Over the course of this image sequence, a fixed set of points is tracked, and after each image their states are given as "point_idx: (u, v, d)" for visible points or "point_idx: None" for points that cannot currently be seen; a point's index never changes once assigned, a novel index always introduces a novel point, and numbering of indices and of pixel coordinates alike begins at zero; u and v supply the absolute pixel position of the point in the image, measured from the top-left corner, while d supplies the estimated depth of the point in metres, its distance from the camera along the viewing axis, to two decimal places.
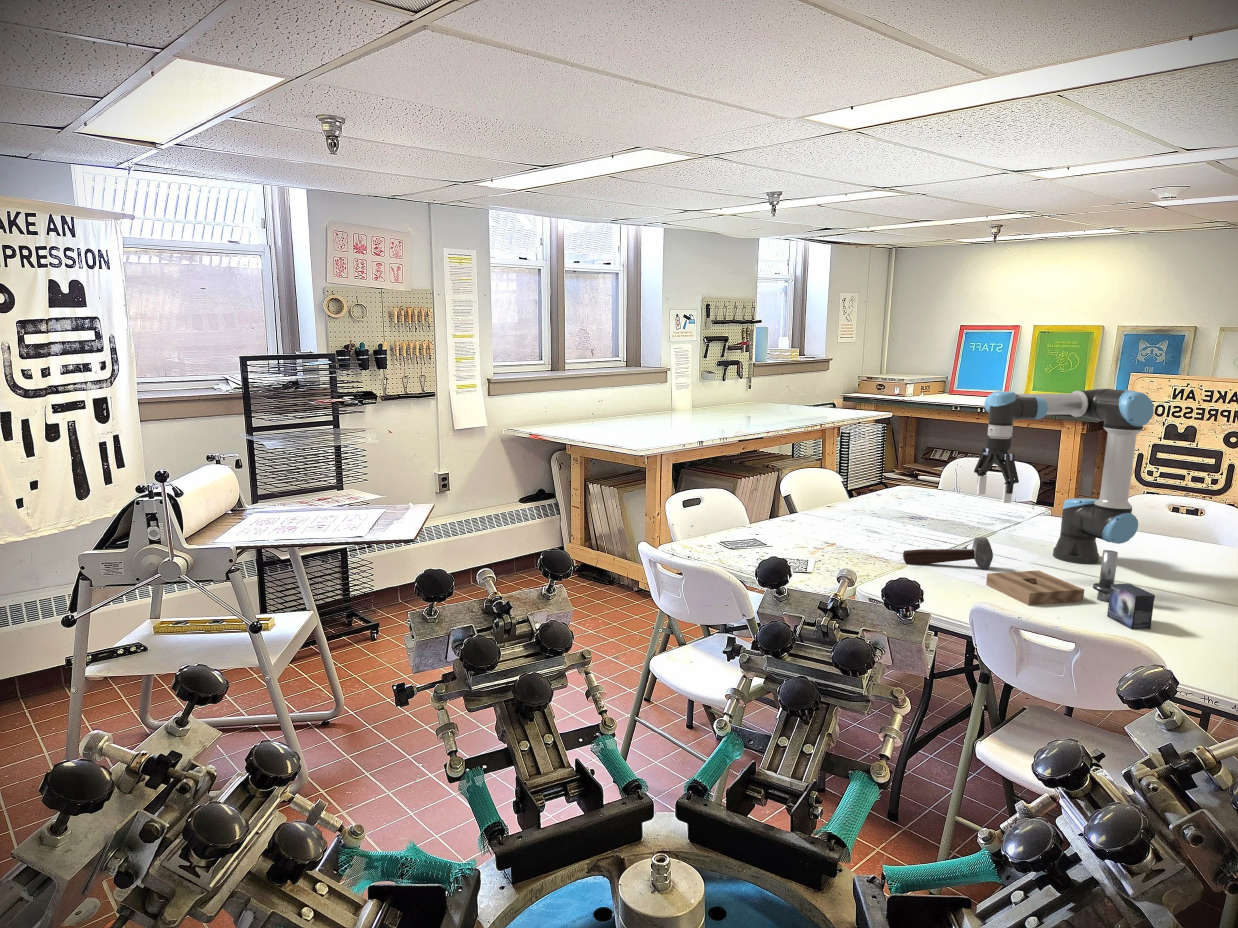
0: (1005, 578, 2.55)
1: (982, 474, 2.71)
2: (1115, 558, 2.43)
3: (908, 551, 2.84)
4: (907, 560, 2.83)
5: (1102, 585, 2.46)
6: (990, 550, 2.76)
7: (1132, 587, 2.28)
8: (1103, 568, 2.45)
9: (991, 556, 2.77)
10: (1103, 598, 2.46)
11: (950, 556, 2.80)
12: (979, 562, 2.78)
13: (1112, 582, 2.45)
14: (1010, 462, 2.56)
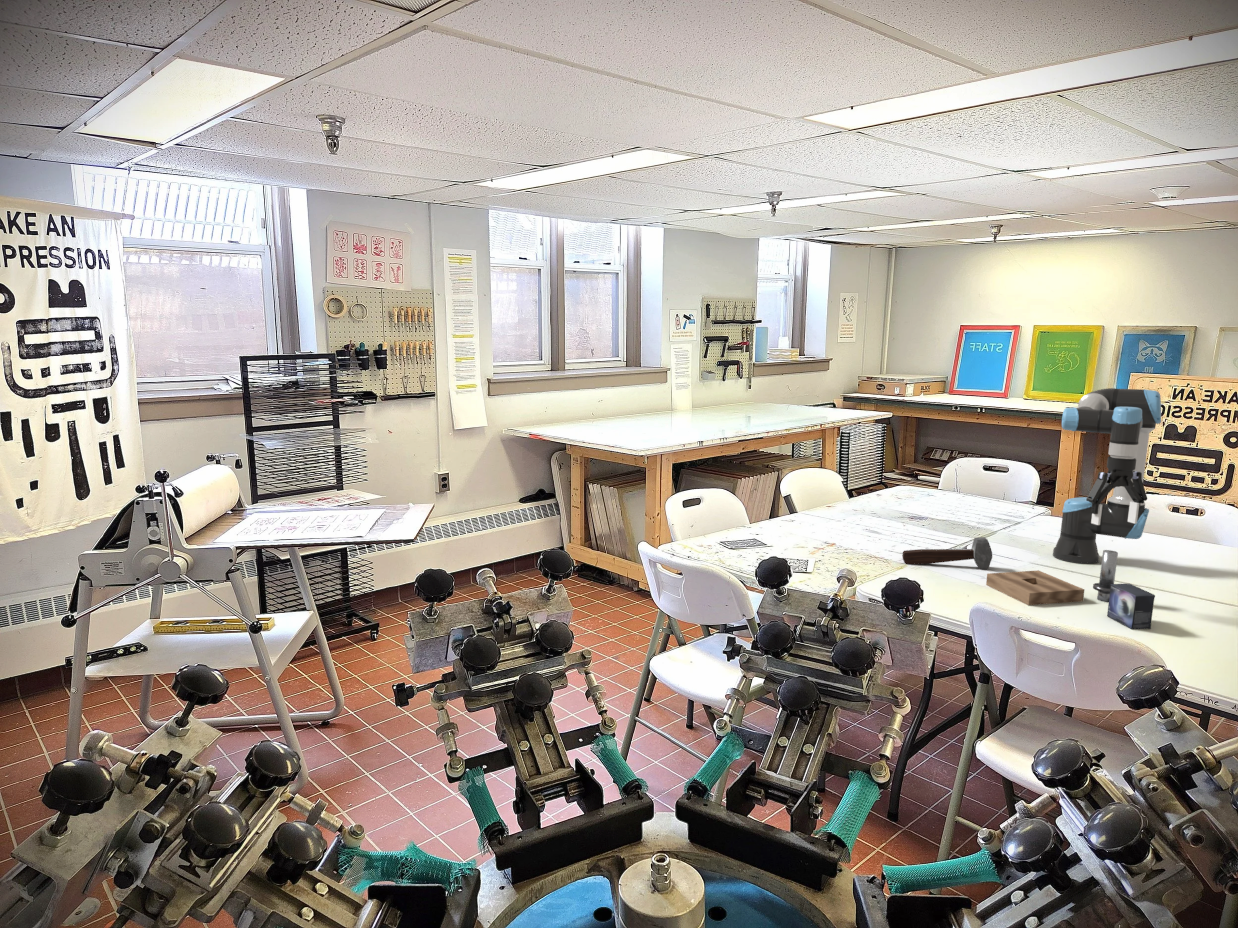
0: (1005, 578, 2.55)
1: (1136, 500, 2.43)
2: (1115, 558, 2.43)
3: (907, 551, 2.84)
4: (906, 559, 2.83)
5: (1102, 585, 2.46)
6: (989, 550, 2.76)
7: (1132, 587, 2.28)
8: (1103, 568, 2.45)
9: (990, 556, 2.77)
10: (1103, 598, 2.46)
11: (950, 556, 2.80)
12: (979, 562, 2.78)
13: (1112, 582, 2.45)
14: (1098, 480, 2.40)
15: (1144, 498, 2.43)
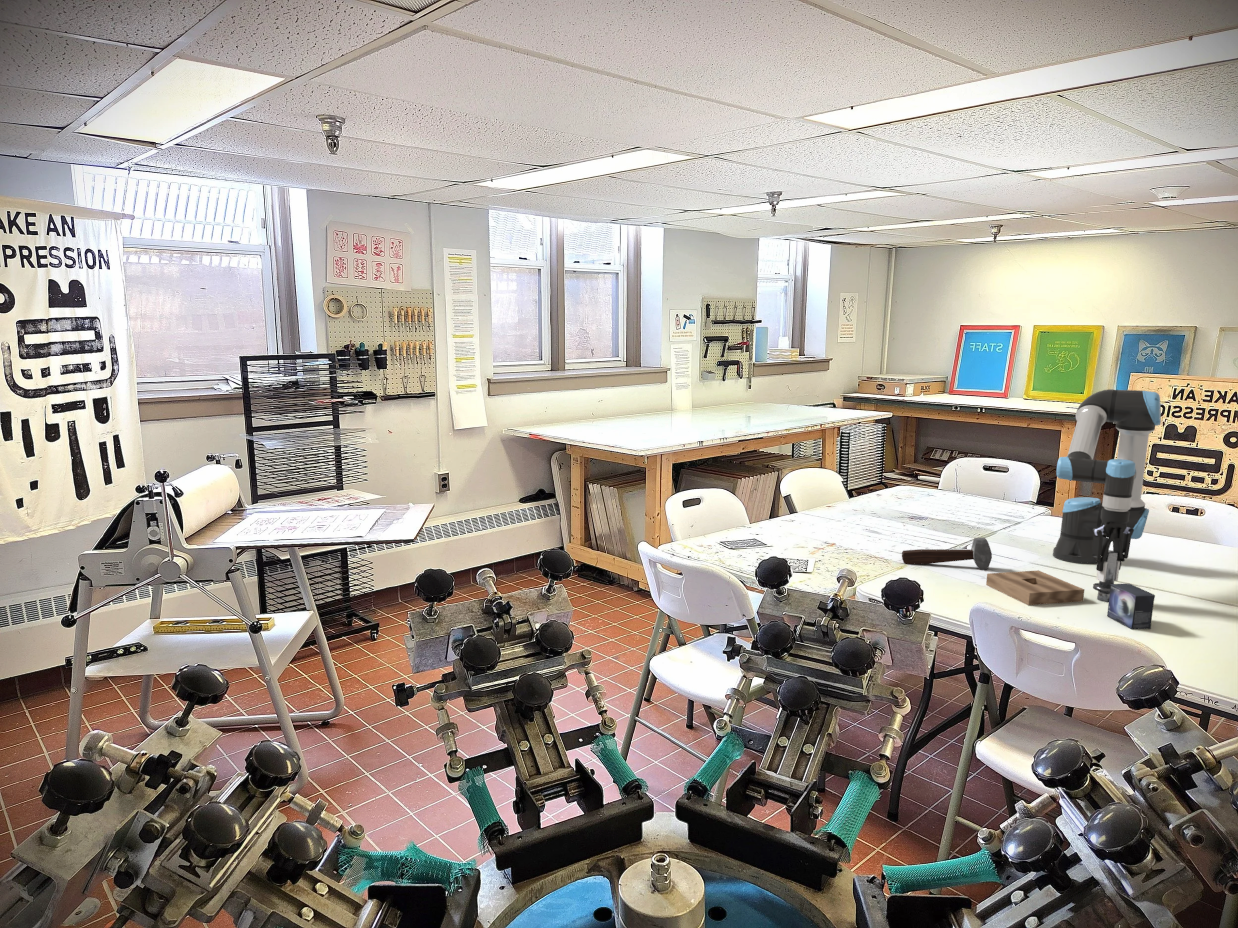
0: (1005, 578, 2.55)
1: None
2: (1115, 558, 2.43)
3: (907, 551, 2.84)
4: (905, 559, 2.83)
5: (1102, 585, 2.46)
6: (989, 551, 2.76)
7: (1132, 587, 2.28)
8: None
9: (990, 556, 2.76)
10: (1103, 598, 2.46)
11: (949, 556, 2.80)
12: (978, 562, 2.77)
13: (1112, 582, 2.45)
14: (1095, 537, 2.43)
15: (1125, 555, 2.45)
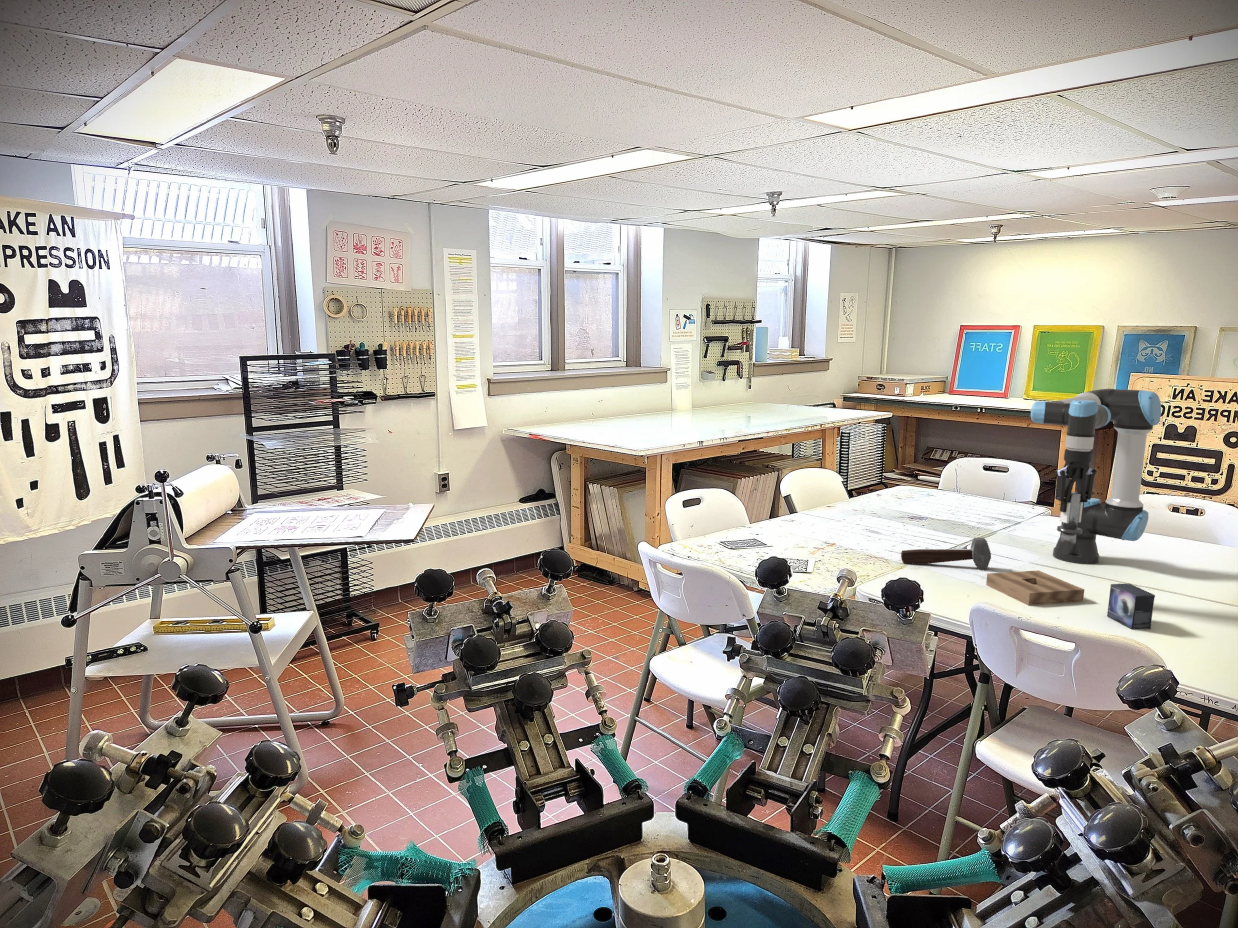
0: (1005, 578, 2.55)
1: (1080, 499, 2.46)
2: (1078, 499, 2.44)
3: (906, 551, 2.84)
4: (905, 559, 2.84)
5: (1066, 527, 2.46)
6: (988, 551, 2.76)
7: (1132, 587, 2.28)
8: None
9: (989, 556, 2.76)
10: (1067, 540, 2.46)
11: (948, 556, 2.80)
12: (977, 562, 2.77)
13: (1075, 523, 2.45)
14: (1058, 478, 2.43)
15: (1088, 496, 2.45)
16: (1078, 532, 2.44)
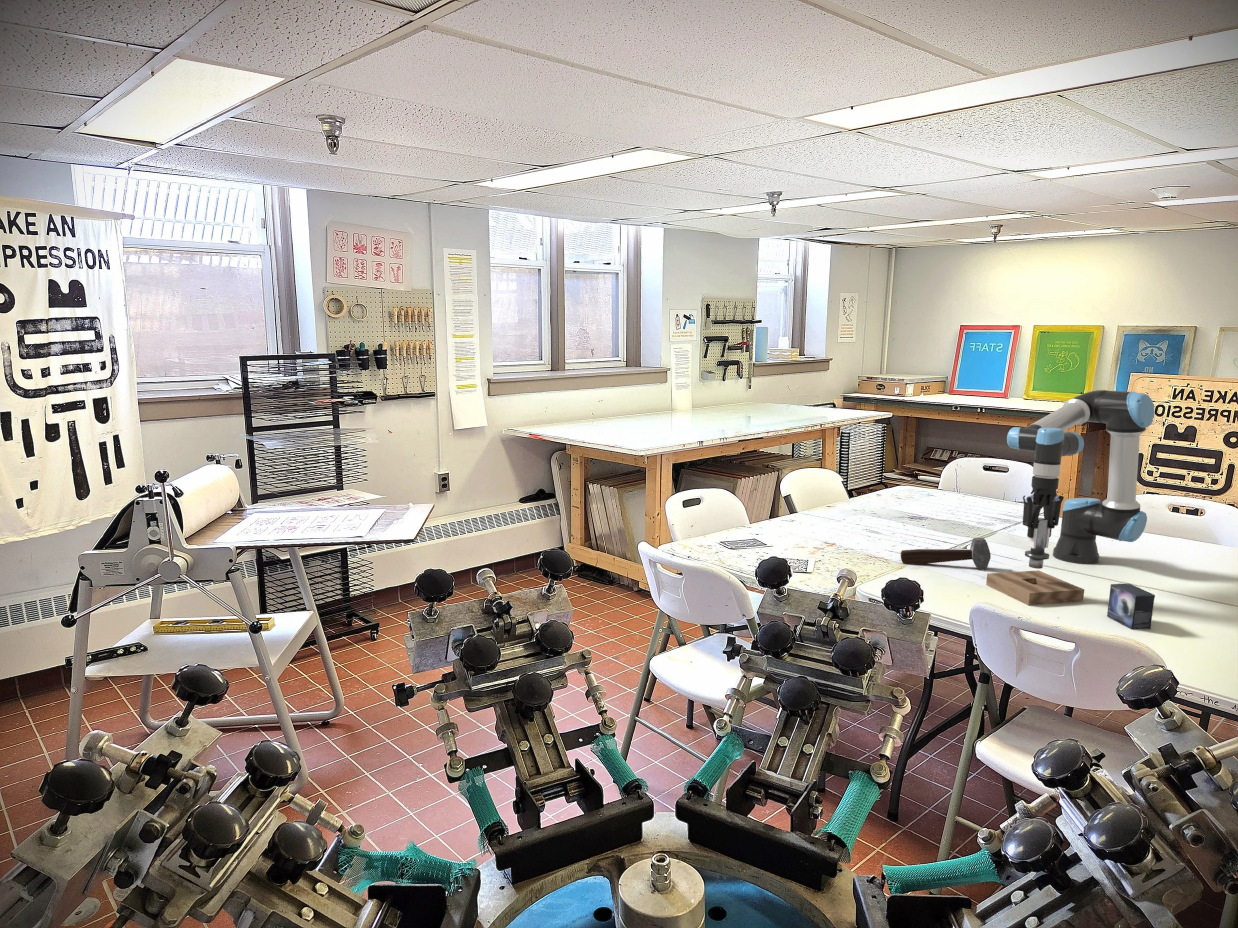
0: (1005, 578, 2.55)
1: None
2: (1045, 525, 2.48)
3: (905, 551, 2.84)
4: (904, 559, 2.84)
5: (1033, 552, 2.50)
6: (987, 551, 2.76)
7: (1132, 587, 2.28)
8: None
9: (989, 556, 2.76)
10: (1034, 565, 2.50)
11: (948, 556, 2.80)
12: (977, 562, 2.77)
13: (1042, 549, 2.49)
14: (1025, 504, 2.48)
15: (1055, 523, 2.49)
16: (1045, 557, 2.48)
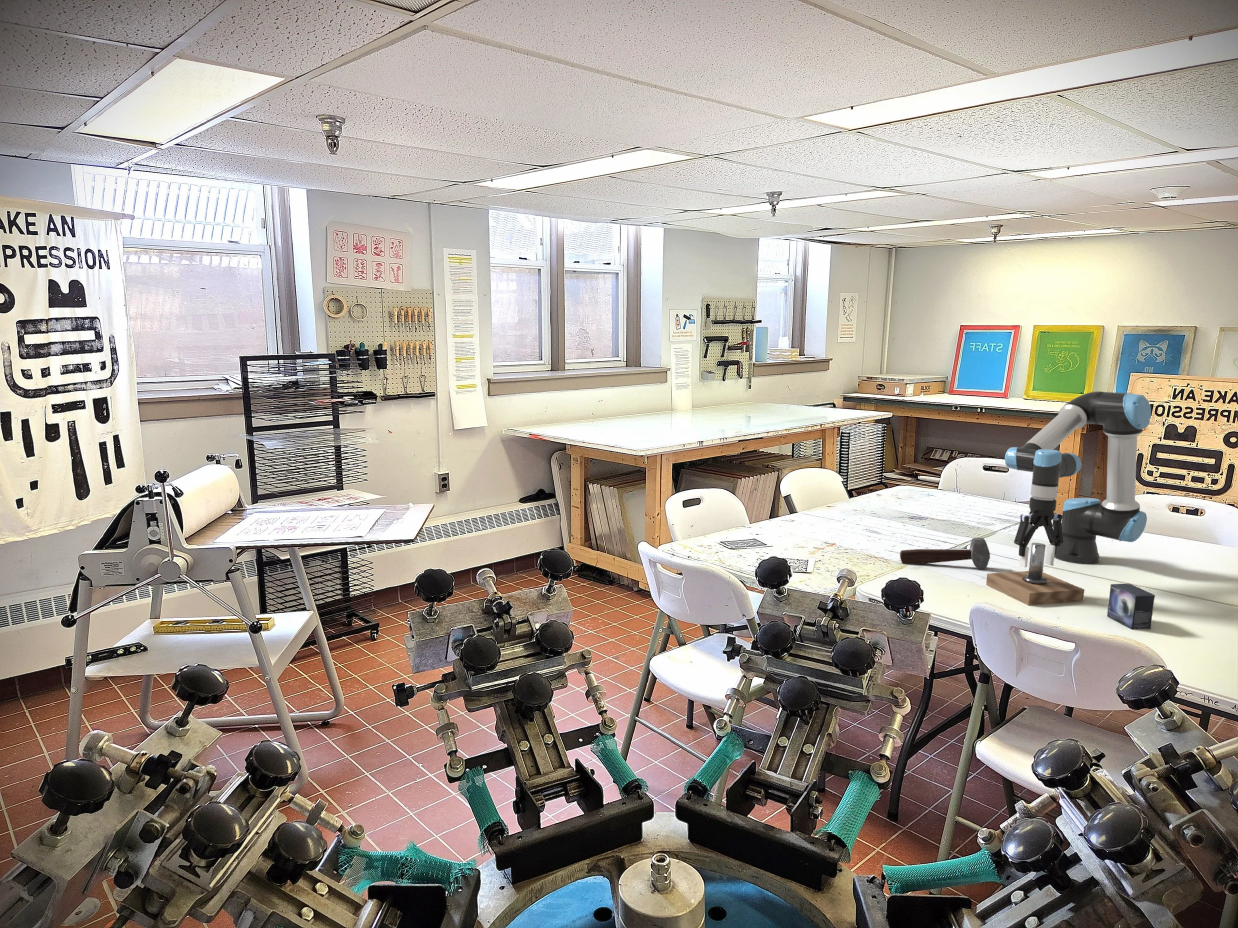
0: (1005, 578, 2.55)
1: (1052, 543, 2.52)
2: (1043, 550, 2.49)
3: (905, 551, 2.85)
4: (904, 559, 2.84)
5: (1031, 577, 2.52)
6: (987, 551, 2.76)
7: (1132, 587, 2.28)
8: (1031, 560, 2.51)
9: (988, 556, 2.76)
10: None
11: (947, 556, 2.80)
12: (976, 562, 2.77)
13: (1040, 574, 2.51)
14: (1021, 523, 2.48)
15: (1060, 541, 2.51)
16: (1042, 583, 2.49)
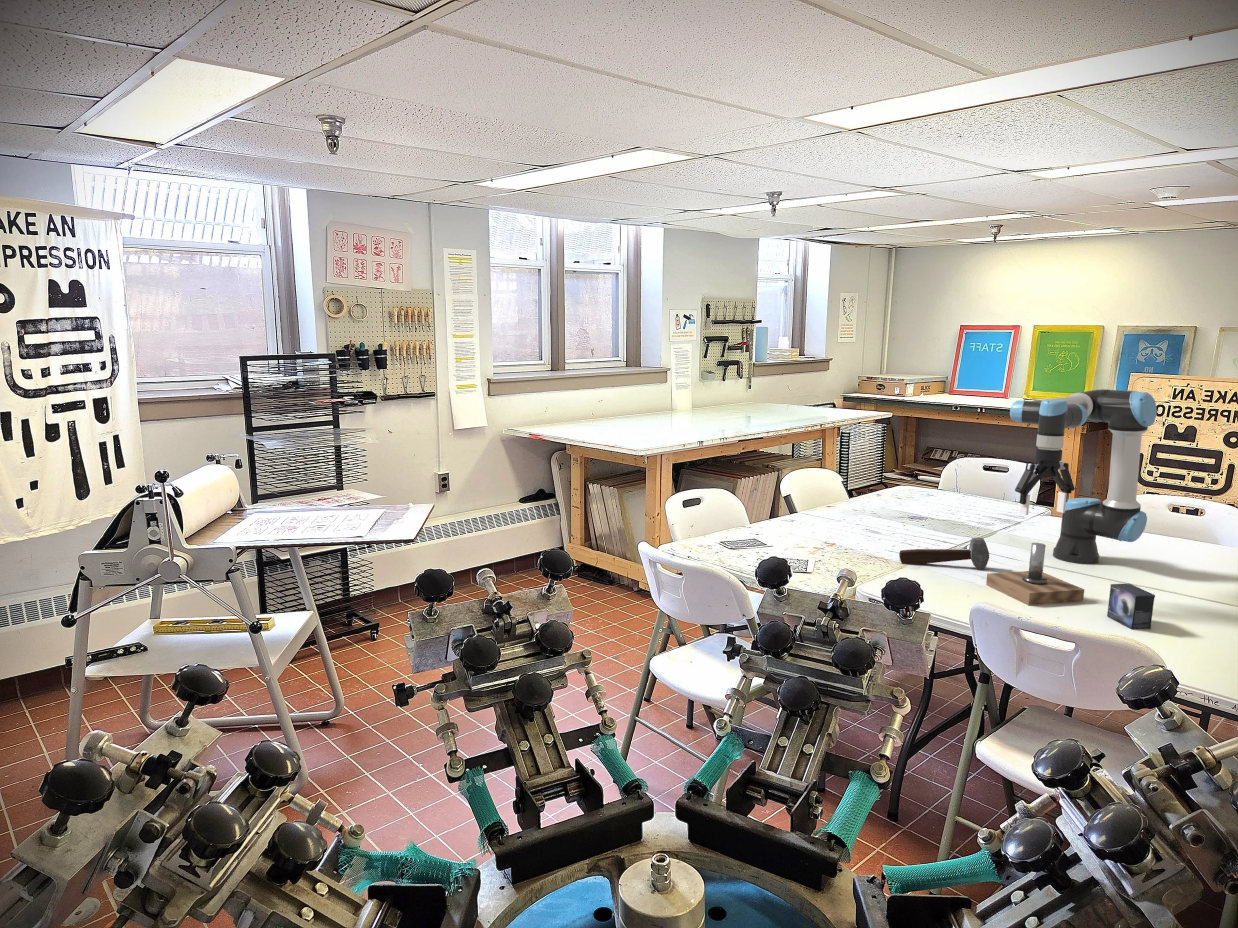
0: (1005, 578, 2.55)
1: (1063, 491, 2.50)
2: (1043, 550, 2.49)
3: (904, 551, 2.85)
4: (903, 559, 2.84)
5: (1031, 577, 2.52)
6: (986, 551, 2.76)
7: (1132, 587, 2.28)
8: (1031, 560, 2.51)
9: (987, 556, 2.76)
10: None
11: (947, 556, 2.80)
12: (975, 562, 2.77)
13: (1040, 574, 2.51)
14: (1026, 471, 2.46)
15: (1071, 488, 2.49)
16: (1042, 583, 2.49)
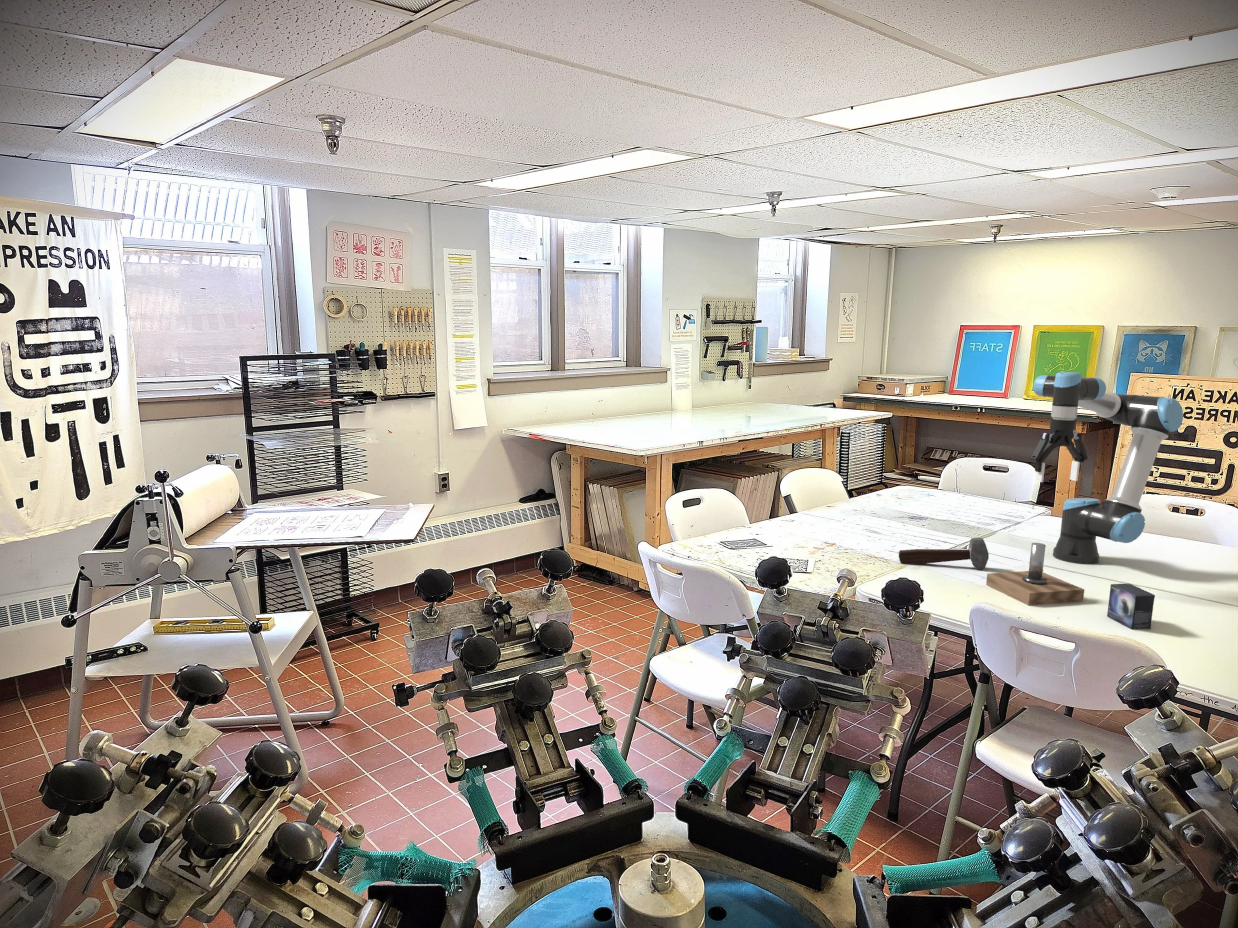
0: (1005, 578, 2.55)
1: (1077, 460, 2.62)
2: (1043, 550, 2.49)
3: (903, 551, 2.85)
4: (902, 559, 2.84)
5: (1031, 577, 2.52)
6: (985, 551, 2.76)
7: (1132, 587, 2.28)
8: (1031, 560, 2.51)
9: (987, 556, 2.76)
10: None
11: (946, 556, 2.80)
12: (975, 562, 2.77)
13: (1040, 574, 2.51)
14: (1041, 440, 2.59)
15: (1084, 457, 2.62)
16: (1042, 583, 2.49)
